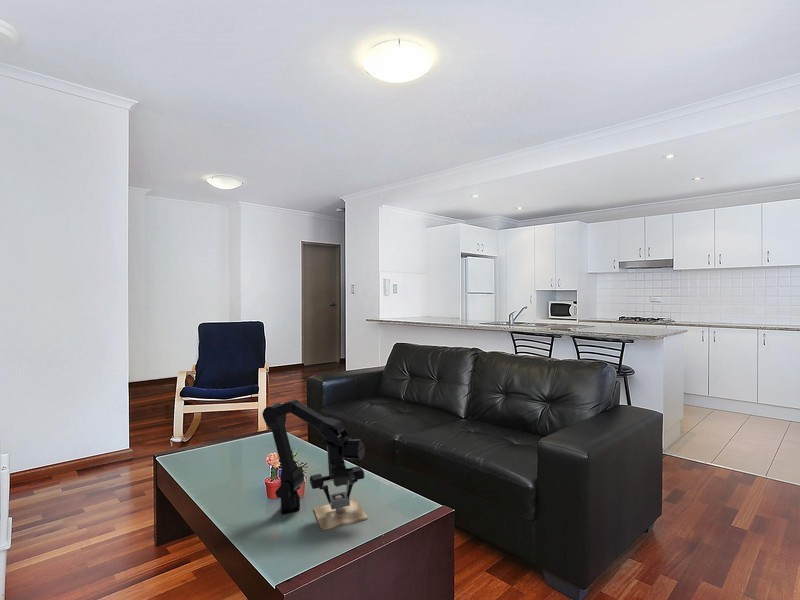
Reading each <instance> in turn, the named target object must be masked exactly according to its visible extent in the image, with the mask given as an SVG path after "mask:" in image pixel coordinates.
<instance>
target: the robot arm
mask: <svg viewBox="0 0 800 600" xmlns="http://www.w3.org/2000/svg"><path fill="white" fill-rule="evenodd" d="M287 414H293V415H294V416H295V417H297V418H299V419H300V420H302V421H303V422H306V423H307V424H308V425H311V426H312V427H314V428H316V430H317V431H318V432H319V434H320V435H321V436H322V437H323V438H324V441H322V443H321V444H320V445H321V446H323V447H325V446H326V450H327V451H326V453H327V466H328V475H324V476H323V475H322V474H321V473H317V474H311V475H310V477H309V484H310V486H311V489H314V490H316V489H319V490H323V493H324V494H325V497H326V500H327V501H328V504H329V503H330V496H329V495H330V491H329V486H328V484H327V482H332V481H333V485H334V486H335V487H336V488H337V487H340V486H346V487H345V488H346V491H345V492H346V494H347V495H348V497H349V498H351V497H350V496H351V493H352V489H353V487H354V484H355V483H358V481H359V480H363V479H365V471H364V470H363V468H362V467H361V466H359V465H358V466H353V467H350V468H347V467H346V462H345V459H346V460H347V459H348V460H363V459H364V456H365V451H366V450H365V444H364V443H363V442H362V439H361V438H355V439H354V438H352V436H351V435H350V433H349V432H348V431H347V429H346V428H345V425H344V423H343V421H341V420H339V419H336V418H334V417H327V416H324V415H322V414H320V413H318V412H317V411H315V410H314V409H312V408H310V407H309V406H307V405H305V404H304V403H301V402H300V400H298V399H295V398H294V399H292V400H289V401H286V402H284V403H280V402H276V403H274V404H271V405H269V406H266V407H265V408H264V409H263V411H262V418H263V420H264V423H265V425H266V426H267V427H268V428H269V429H270V430H271V432H272V437H273V441H274V443H275V447H276V453H277V456H278V459H279V463H280V468H281V470H280V477H279V479H280V480H279V481H280V486H279V487H278V488H277V489H276V490H275V493H274V494H275V496H276V498H279V500H280V501H279V502H280V506H279V510H280V512H281V513H280V514H281V515H283V516H284V515H288V514H292V513H297V512H300V507H301V500H300V494H299V492H298V490H300V489H301V486H302V485H303V483H304V481H305V478H304V477H305V476H306V475H305V474H304V470H303V466H302V465H300V466H298V465H297V463H296V462H295V460H294V455H293V451H292V447H291V445H290V443H291V442H290V440H289V437H288V432H287V429H286V422H287V421H286V420H287Z"/></svg>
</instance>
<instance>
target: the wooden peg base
mask: <svg viewBox="0 0 800 600" xmlns="http://www.w3.org/2000/svg"><path fill="white" fill-rule="evenodd" d="M338 499H342V496H340V495H339V496H336V497H335V500H338ZM349 500H350V506H346V507H341V508H337V509H331V507H330V504H329V503H328V504H324V505H320V506H316V507H312V508H313V512H314V515H315V518H316V520H317V522H318V525H319V528H320V531H324V530H330V529H333V528H337V527H342V526H346V525H350V524H353V523H357V522H362V521H365V520H368V515H367V514H366V513H365V511H364V509H363V507H362V506H361V505H360V503H359V500H358V499H357V498H356V497H355V498H351V499H350V498H349Z"/></svg>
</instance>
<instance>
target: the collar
mask: <svg viewBox="0 0 800 600" xmlns="http://www.w3.org/2000/svg"><path fill="white" fill-rule="evenodd" d="M339 495H340V496H342V499H338V500H335V497H336V496H339ZM329 496H330V503H329V502H328V504H330V507H331V509H337V508H341V507H346V506H350V497H348V495H347V492H346V491H340V492H337V493H333V494H332V493H331V494H329Z"/></svg>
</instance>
